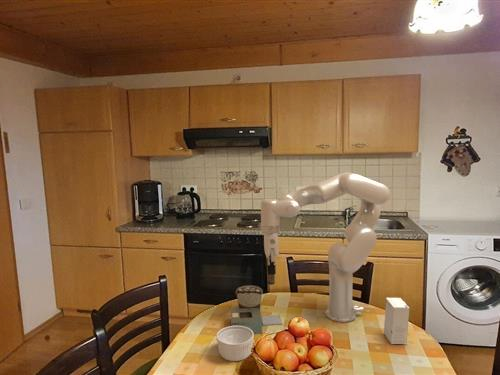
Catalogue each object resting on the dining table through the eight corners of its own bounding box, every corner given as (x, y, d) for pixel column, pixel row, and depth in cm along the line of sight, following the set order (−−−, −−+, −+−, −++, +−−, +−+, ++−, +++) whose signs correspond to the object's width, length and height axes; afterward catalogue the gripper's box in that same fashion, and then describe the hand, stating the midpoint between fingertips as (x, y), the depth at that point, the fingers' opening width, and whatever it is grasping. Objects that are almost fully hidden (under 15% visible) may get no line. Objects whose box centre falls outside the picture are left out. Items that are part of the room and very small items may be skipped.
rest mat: (279, 315, 154) (279, 314, 154) (282, 324, 146) (282, 323, 146) (260, 316, 153) (260, 315, 153) (263, 325, 146) (263, 324, 145)
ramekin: (212, 347, 130) (211, 329, 130) (245, 339, 135) (245, 322, 135) (224, 367, 118) (223, 347, 117) (260, 358, 123) (260, 338, 123)
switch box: (259, 318, 151) (259, 307, 151) (262, 333, 140) (262, 320, 139) (230, 320, 150) (230, 308, 150) (231, 335, 139) (231, 322, 138)
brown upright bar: (274, 281, 150) (273, 251, 148) (275, 284, 147) (274, 253, 145) (266, 282, 149) (266, 251, 148) (267, 284, 146) (267, 254, 145)
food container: (264, 306, 164) (263, 285, 162) (263, 312, 157) (263, 290, 156) (237, 305, 165) (237, 284, 164) (235, 311, 159) (235, 290, 158)
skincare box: (383, 334, 138) (384, 296, 136) (399, 333, 138) (400, 296, 136) (391, 345, 129) (393, 306, 128) (408, 345, 129) (409, 306, 128)
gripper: (283, 233, 138) (283, 279, 140) (276, 224, 154) (276, 266, 156) (263, 234, 137) (264, 280, 139) (259, 225, 153) (259, 266, 155)
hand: (270, 272), depth 148 cm, fingers closed on brown upright bar, 3 cm apart
